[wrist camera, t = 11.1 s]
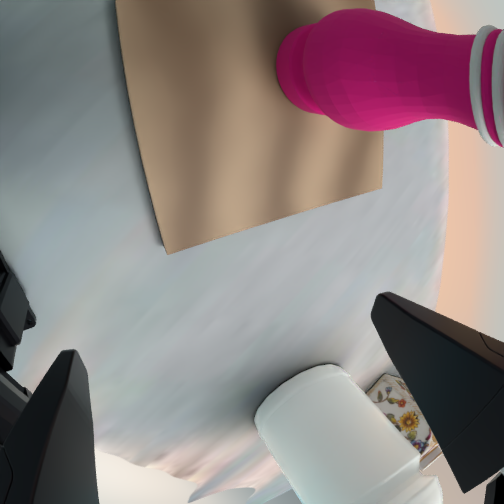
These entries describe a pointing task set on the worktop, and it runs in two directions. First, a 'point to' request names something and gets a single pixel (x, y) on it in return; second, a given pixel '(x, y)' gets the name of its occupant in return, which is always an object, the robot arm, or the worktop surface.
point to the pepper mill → (394, 73)
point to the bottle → (340, 444)
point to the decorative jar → (405, 416)
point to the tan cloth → (232, 117)
